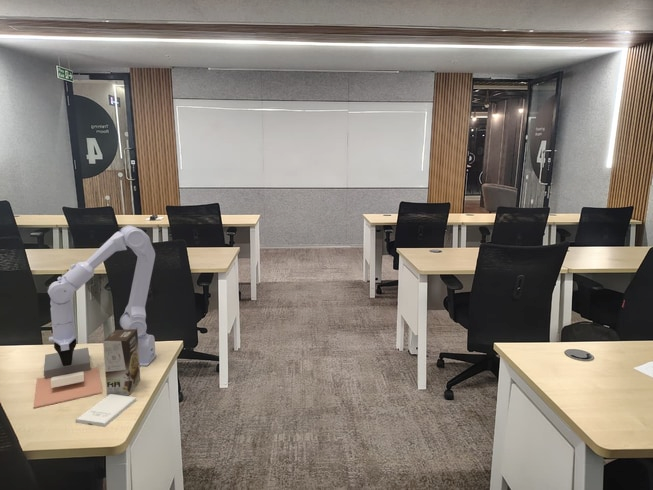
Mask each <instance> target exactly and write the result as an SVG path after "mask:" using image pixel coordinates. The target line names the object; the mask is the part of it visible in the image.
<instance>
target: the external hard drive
mask: <svg viewBox="0 0 653 490" xmlns="http://www.w3.org/2000/svg"><path fill="white" fill-rule="evenodd" d="M136 401H137V397H134V396H130V395H115V394H109V395H108V396H107V395H106V397H104V398H103V399H101V400H100V401H99V402H97V403H96V404H94V405H93V406H92V407H90V408H89V409H88V410H86V412H84V413H82V414H81V415H80V416H78V417H77V418H76V419H75V423H76V424H84V425H93V426H98V427H104V428H105V427H106V426H107V425H109V424H110V423H111V422H113V420H114V419H116V418H118V417H119V416H120V415H121V414H122V413H123V412H125V411H126V410H127V409H128V408H130V406H132V405H133V404H134V403H135V402H136Z"/></svg>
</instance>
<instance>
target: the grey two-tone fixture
mask: <svg viewBox="0 0 653 490" xmlns="http://www.w3.org/2000/svg"><path fill="white" fill-rule="evenodd" d="M90 359H91V358H90V352H89V347H82V348H77V349H74V351H73V356H72V364H71V365H68V366H63V365H62V362H61V359H60V356H59V354H58V352H54V353H49V354H48V353H47V354H45V355H44V365H43V366H44V367H43V375H44V376H43V377H45V379H48V378H52V377H56V376H62V375H67V374H72V373H77V372H82V371H83V372H84V371H89V370H91V368H92V367H91V360H90Z"/></svg>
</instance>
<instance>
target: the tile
mask: <svg viewBox="0 0 653 490" xmlns="http://www.w3.org/2000/svg"><path fill="white" fill-rule="evenodd" d="M83 381H84V373H83V371H82V372H77V373H72V374H67V375H62V376H56V377H52V378H51V388H54V387H59V386H64V385H69V384H74V383H79V382H83Z"/></svg>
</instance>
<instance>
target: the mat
mask: <svg viewBox="0 0 653 490" xmlns="http://www.w3.org/2000/svg"><path fill="white" fill-rule="evenodd" d="M83 373H84V381H83V382H79V383H74V384H69V385H64V386H59V387H54V388H51V378H48V379H45V377H44V376H43V377H38V378H36V383H35V389H34V391H35V392H34V400H33V406H32V408H33V409H38V408H42V407H47V406H51V405H56V404H61V403H65V402H69V401H74V400H78V399H84V398H87V397H92V396H97V395H101V394H103V390H102V383H101V378H100V372H99V367H98V366H95V367H91V370H89V371H84V372H83Z"/></svg>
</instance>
